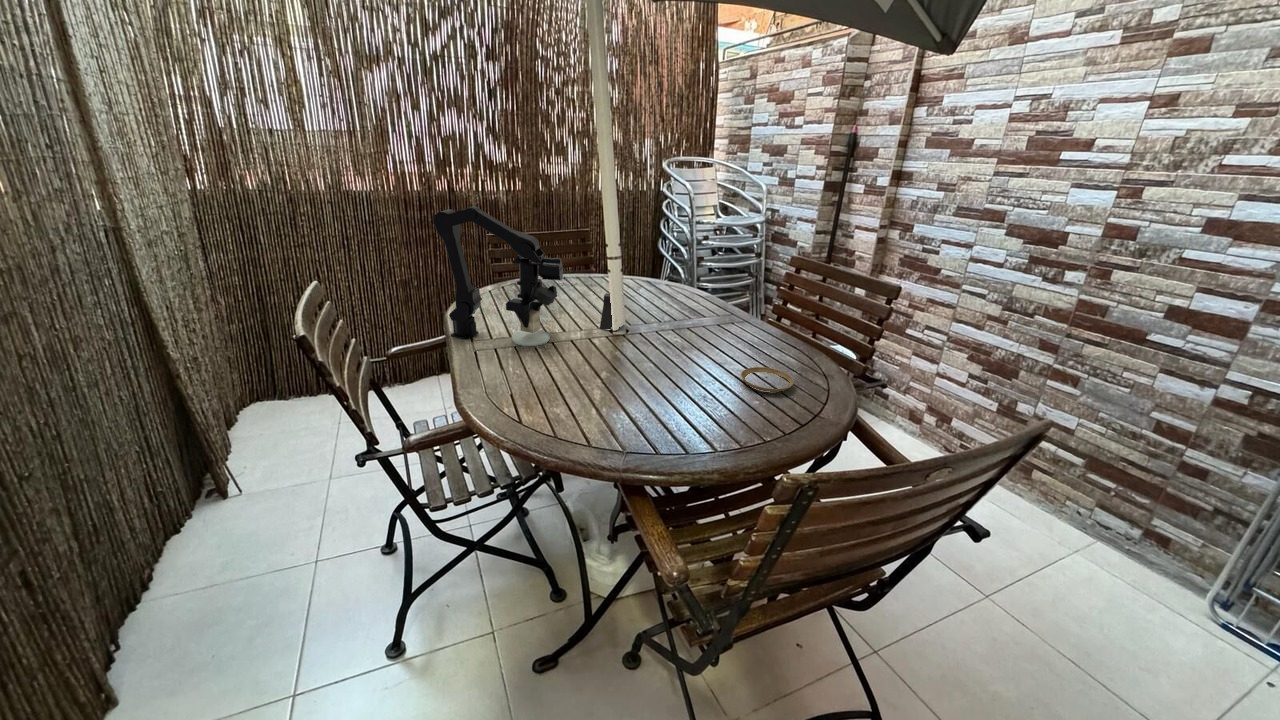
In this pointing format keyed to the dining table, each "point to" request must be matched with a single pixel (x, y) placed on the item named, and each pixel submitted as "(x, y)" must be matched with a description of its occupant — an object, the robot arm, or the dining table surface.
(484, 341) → the dining table surface
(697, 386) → the dining table surface
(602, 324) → the phone stand
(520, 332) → the dish
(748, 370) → the tan ring
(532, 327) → the birch block
